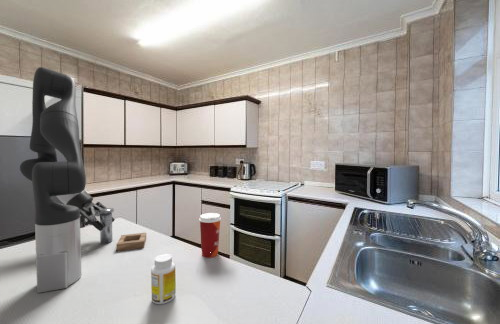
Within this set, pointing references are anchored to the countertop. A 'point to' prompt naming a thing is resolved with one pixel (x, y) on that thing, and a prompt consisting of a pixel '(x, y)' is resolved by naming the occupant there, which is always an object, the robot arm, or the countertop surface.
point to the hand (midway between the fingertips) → (108, 225)
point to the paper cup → (210, 234)
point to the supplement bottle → (163, 279)
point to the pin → (106, 225)
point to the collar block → (131, 241)
